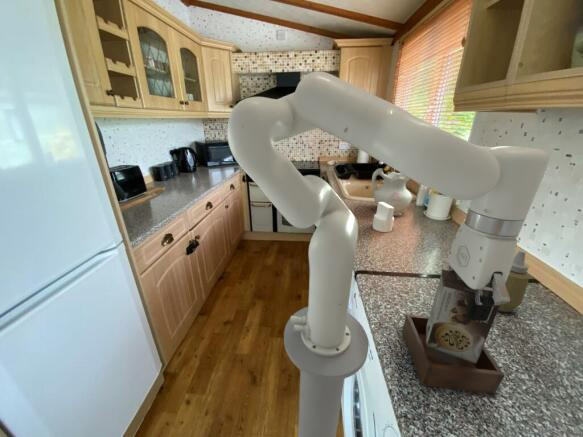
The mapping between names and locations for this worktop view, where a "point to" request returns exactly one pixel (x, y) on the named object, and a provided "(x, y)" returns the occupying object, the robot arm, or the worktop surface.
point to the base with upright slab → (383, 217)
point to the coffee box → (457, 319)
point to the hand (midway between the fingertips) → (463, 302)
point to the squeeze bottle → (516, 282)
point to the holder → (449, 363)
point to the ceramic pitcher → (392, 190)
